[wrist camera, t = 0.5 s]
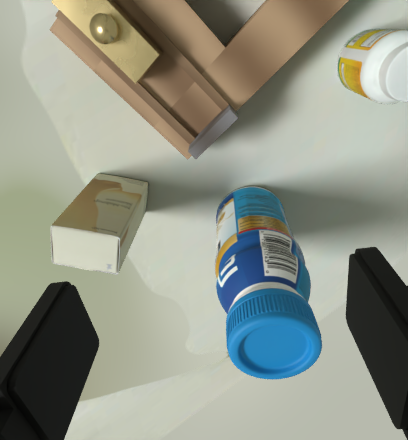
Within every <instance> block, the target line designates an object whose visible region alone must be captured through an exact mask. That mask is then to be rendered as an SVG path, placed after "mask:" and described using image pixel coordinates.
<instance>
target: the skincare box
mask: <svg viewBox="0 0 408 440" xmlns="http://www.w3.org/2000/svg"><path fill="white" fill-rule="evenodd" d="M147 196H148V183H147V182H143V181H139V180H134V179H129V178H124V177H118V176H112V175H106V174H99V173H98V174H97V175H96V176H95V177H94V178H93V179H92V180H91V181H90V183H89V184H88V185H87V186H86V187H85V188H84V189H83V190H82V192H81V193H80V194H79V195H78V196H77V197H76V198H75V199H74V201H73V202H72V203H71V204H70V205H69V206H68V207H67V208H66V210H65V211H64V212H63V213H62V214H61V215H60V216H59V217H58V219H57V220H56V221H55V222H54V223H53V224H52V225H51V255H52V263H54V264H58V265H64V266H70V267H76V268H80V269H85V270H93V271H100V272H106V273H112V274H118V273H119V271H120V269H121V266H122V264H123V262H124V259H125V257H126V255H127V253H128V250H129V248H130V246H131V244H132V242H133V239H134V237H135V235H136V233H137V230H138V228H139V226H140V223H141V221H142V219H143V217H144V214H145V211H146V204H147Z"/></svg>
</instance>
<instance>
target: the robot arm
mask: <svg viewBox="0 0 408 440" xmlns="http://www.w3.org/2000/svg"><path fill="white" fill-rule="evenodd" d="M346 320H347V324H348V327H349V329H350V331H351V333H352V335H353V337H354V340H355V342H356V344H357V346H358V348H359V351H360V353H361V355H362V357H363V359H364V361H365V364H366V366H367V368H368V370H369V372H370V374H371V376H372V379H373V381H374V383H375V385H376V388H377V390H378V392H379V394H380V396H381V398H382V400H383V402H384V405H385V407H386V409H387V411H388V413H389V416H390V418H391V420H392V422H393V424H394V426H395V427H396V428H397V429H403V431H404V434H405V436H406V438H407V440H408V286H406V285H405V283H404V282H403V281H402V280H401V278H400V277H399V276H398V274H397V273H396V272H395V271H394V269H393V268H392V267H391V265H390V264H389V263H388V261H387V260H386V259H385V258H384V256H383V255H382V254H381V252H380V251H379V250H378V249H377V248H376V247H370V248H361V249H356V251H355V254H351V255H350V257H349V272H348V288H347V304H346ZM98 347H99V338H98V336H97V333H96V331H95V329H94V327H93V325H92V322H91V320H90V318H89V316H88V313H87V311H86V309H85V307H84V304H83V302H82V300H81V298H80V295H79V293H78V291H77V289H76V287H75V286H74V285H71V284H70V283H69V282H57V283H51V284H50V285H49V286H48V287H47V288H46V290H45V292H44V293H43V294H42V296H41V297H40V299H39V301H38V302H37V303H36V305H35V306H34V308H33V309H32V311H31V313H30V314H29V315H28V317H27V318H26V320H25V321H24V323H23V324H22V326H21V327H20V329H19V330H18V331H17V333H16V335H15V336H14V337H13V339H12V341H11V342H10V343H9V345H8V346H7V348H6V349H5V351H4V352H3V354H2V355H1V357H0V440H64V438H65V435H66V433H67V430H68V427H69V425H70V422H71V420H72V417H73V414H74V412H75V409H76V406H77V404H78V401H79V398H80V396H81V393H82V390H83V388H84V385H85V382H86V380H87V377H88V374H89V372H90V369H91V366H92V364H93V361H94V358H95V356H96V353H97V351H98Z"/></svg>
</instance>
